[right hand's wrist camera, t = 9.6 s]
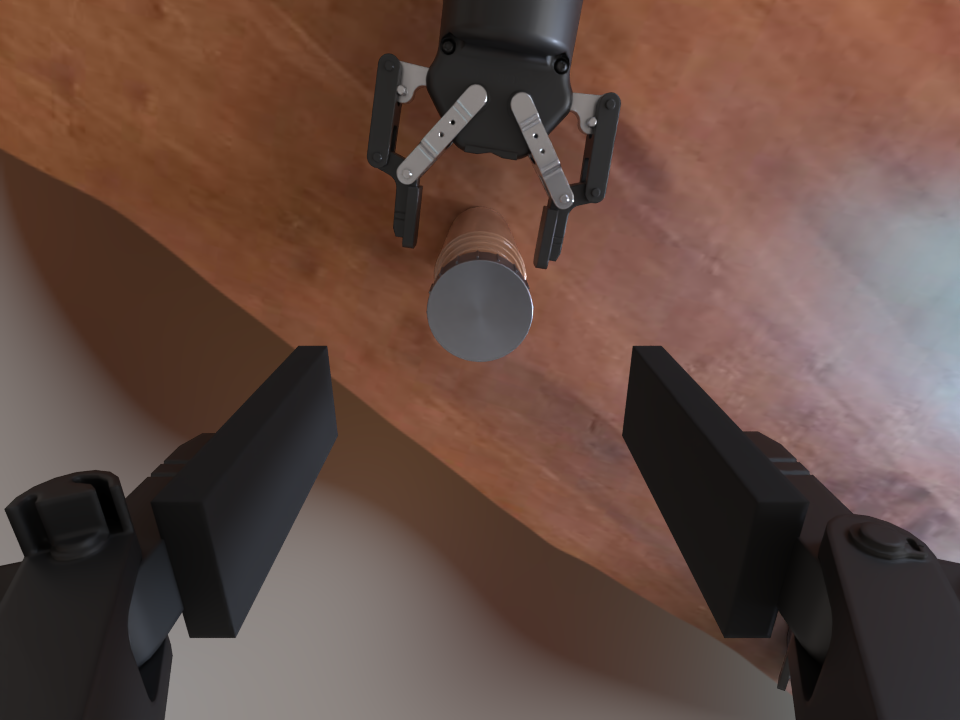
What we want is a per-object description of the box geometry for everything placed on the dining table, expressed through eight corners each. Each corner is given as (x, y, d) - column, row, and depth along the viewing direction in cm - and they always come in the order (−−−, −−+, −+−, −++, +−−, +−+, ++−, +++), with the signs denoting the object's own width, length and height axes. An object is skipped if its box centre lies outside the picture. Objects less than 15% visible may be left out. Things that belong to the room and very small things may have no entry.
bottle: (486, 193, 38) (493, 226, 20) (524, 246, 39) (560, 322, 21) (435, 232, 39) (397, 298, 21) (473, 283, 40) (467, 384, 23)
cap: (491, 229, 22) (492, 236, 20) (548, 310, 23) (554, 323, 21) (410, 290, 23) (404, 302, 21) (469, 364, 24) (469, 381, 22)
